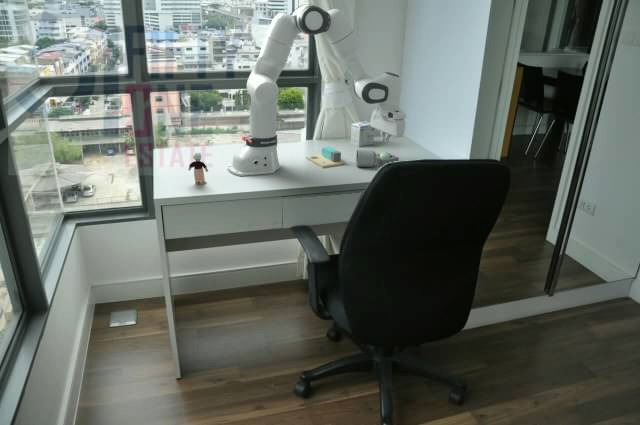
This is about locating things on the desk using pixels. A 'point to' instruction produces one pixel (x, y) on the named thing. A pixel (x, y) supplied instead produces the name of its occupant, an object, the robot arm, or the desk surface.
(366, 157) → the ceramic mug
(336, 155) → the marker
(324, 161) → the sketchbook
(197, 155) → the grandmother figurine
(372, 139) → the light bulb box
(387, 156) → the button
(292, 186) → the desk surface
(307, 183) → the desk surface
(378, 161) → the button housing
